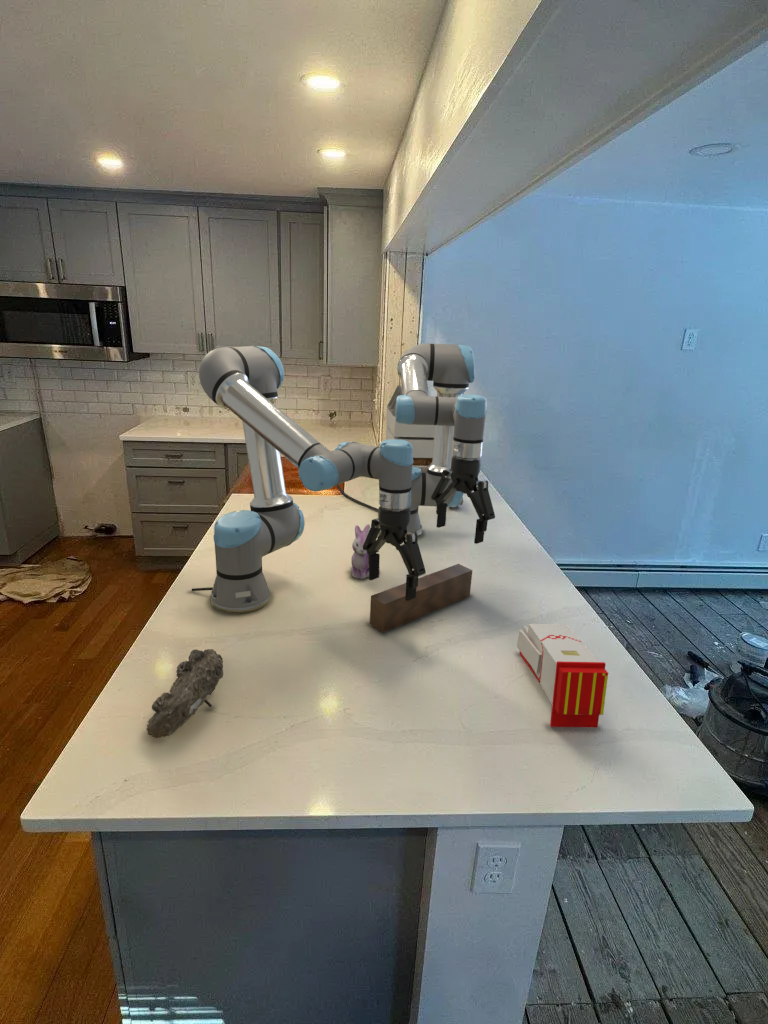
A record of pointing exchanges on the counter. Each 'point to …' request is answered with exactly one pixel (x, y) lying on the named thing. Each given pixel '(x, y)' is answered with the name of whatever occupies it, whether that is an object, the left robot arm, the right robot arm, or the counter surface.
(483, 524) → the right robot arm
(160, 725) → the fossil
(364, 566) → the figurine
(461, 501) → the figurine character
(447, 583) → the plank
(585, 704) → the toy
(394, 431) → the transformer
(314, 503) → the counter surface
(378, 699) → the counter surface
